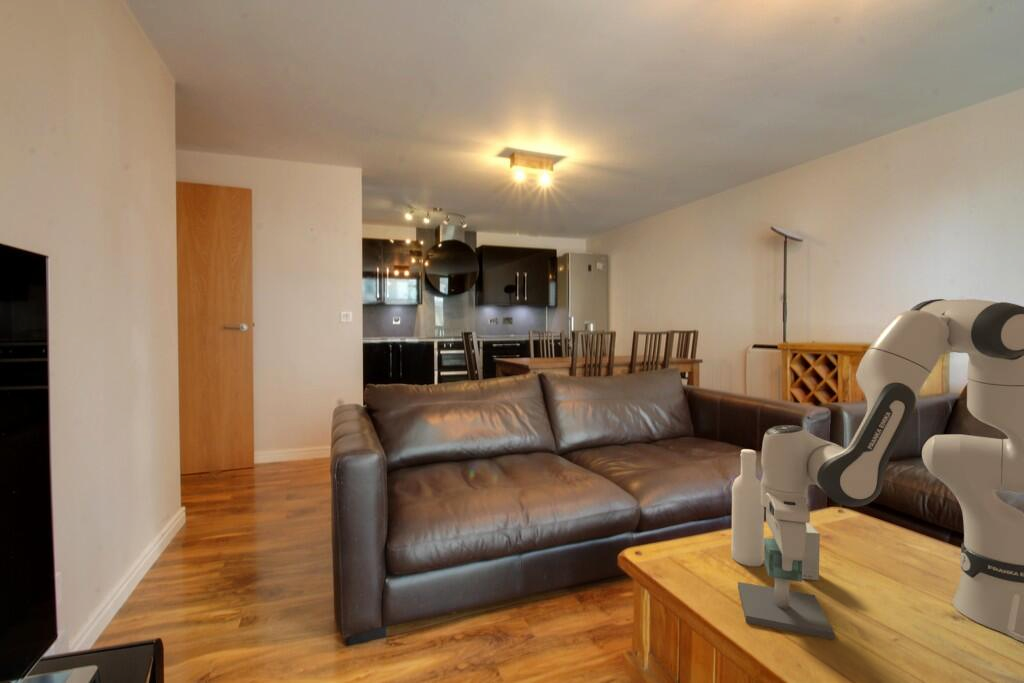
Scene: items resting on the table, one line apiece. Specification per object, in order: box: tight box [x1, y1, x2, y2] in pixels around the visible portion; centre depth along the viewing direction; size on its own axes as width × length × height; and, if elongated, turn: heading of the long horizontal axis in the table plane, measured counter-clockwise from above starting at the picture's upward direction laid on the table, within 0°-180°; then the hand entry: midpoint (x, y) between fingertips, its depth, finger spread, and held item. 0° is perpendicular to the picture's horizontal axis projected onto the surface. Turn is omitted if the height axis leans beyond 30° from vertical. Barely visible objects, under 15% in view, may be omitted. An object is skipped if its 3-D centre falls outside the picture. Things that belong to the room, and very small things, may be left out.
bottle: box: [730, 448, 765, 567], centre depth 125 cm, size 8×8×30 cm
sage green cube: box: [763, 537, 803, 583], centre depth 101 cm, size 6×6×6 cm
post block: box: [737, 578, 835, 641], centre depth 102 cm, size 16×14×9 cm
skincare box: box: [802, 523, 821, 581], centre depth 117 cm, size 6×4×12 cm
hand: (782, 560), depth 101 cm, fingers closed on sage green cube, 6 cm apart
